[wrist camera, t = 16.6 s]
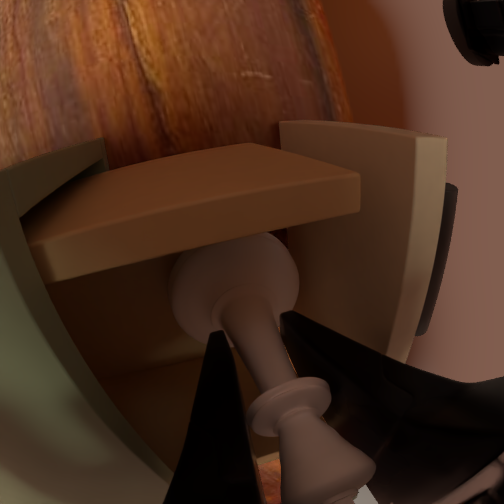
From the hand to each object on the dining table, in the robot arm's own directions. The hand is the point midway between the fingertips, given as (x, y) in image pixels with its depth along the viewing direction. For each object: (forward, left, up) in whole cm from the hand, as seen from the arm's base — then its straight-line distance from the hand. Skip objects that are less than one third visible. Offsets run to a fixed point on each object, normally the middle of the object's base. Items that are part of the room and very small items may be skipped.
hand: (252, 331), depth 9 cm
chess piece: (0, 0, -3) cm, 3 cm away
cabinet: (+11, 0, -6) cm, 12 cm away
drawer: (0, 0, -5) cm, 5 cm away
